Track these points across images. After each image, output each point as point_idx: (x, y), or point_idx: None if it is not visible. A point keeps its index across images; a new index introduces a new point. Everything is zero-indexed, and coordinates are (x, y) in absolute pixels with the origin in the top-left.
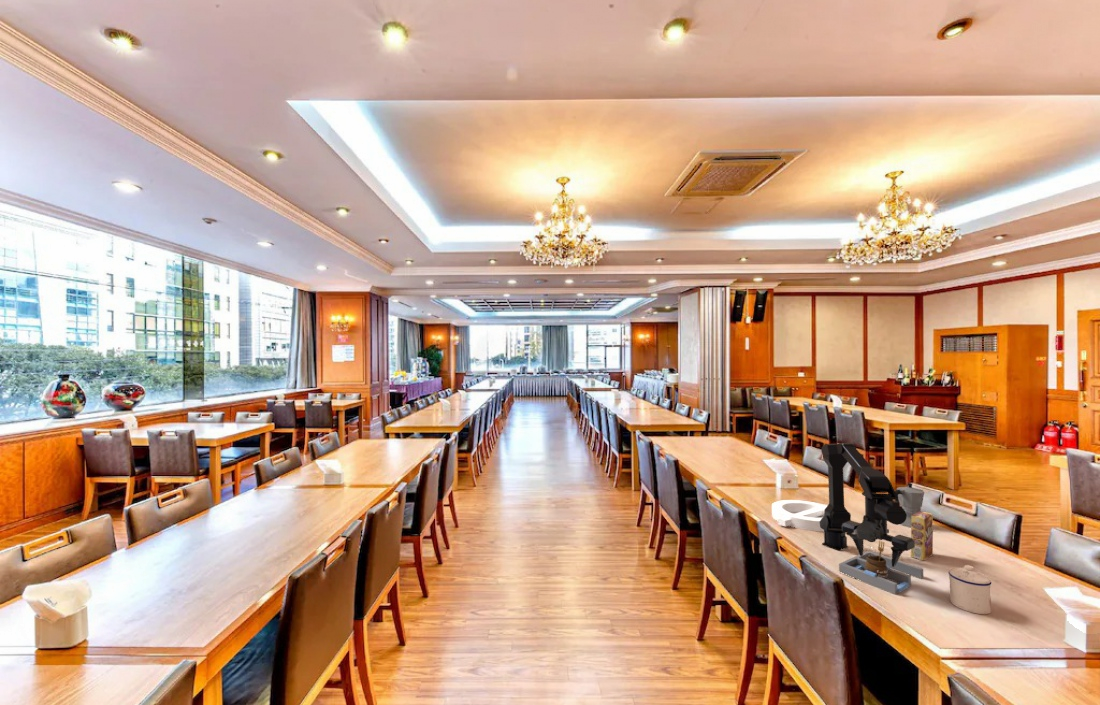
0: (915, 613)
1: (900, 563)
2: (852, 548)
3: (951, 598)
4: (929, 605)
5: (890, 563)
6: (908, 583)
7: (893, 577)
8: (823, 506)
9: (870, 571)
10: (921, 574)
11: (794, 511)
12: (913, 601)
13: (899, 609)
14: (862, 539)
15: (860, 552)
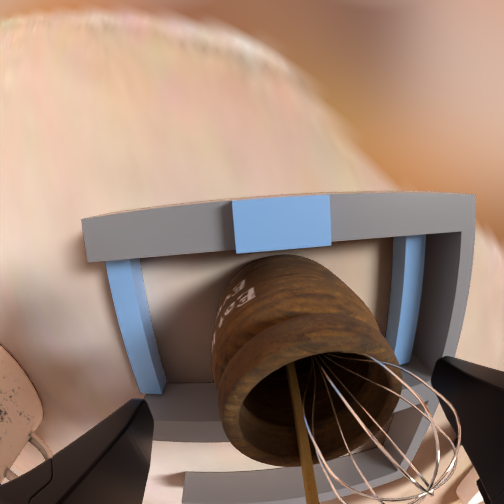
0: (6, 118)
1: (266, 499)
2: (440, 452)
3: (3, 366)
4: (10, 259)
5: None
6: (139, 387)
7: None
8: None
9: (303, 269)
10: (184, 486)
11: None
12: (42, 227)
13: (45, 77)
14: (501, 488)
15: (461, 369)
